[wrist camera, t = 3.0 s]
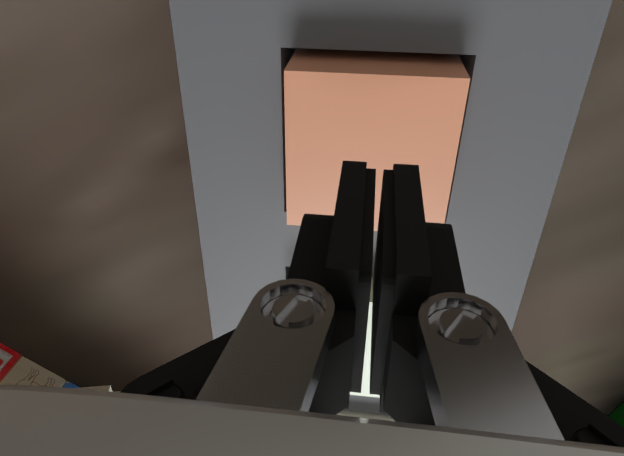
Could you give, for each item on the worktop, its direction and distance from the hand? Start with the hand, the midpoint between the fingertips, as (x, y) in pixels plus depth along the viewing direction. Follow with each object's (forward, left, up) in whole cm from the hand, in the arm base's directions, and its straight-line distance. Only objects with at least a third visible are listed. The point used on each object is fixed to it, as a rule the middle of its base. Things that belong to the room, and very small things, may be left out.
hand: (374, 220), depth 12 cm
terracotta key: (0, 0, -7) cm, 7 cm away
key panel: (-8, 0, -9) cm, 12 cm away
